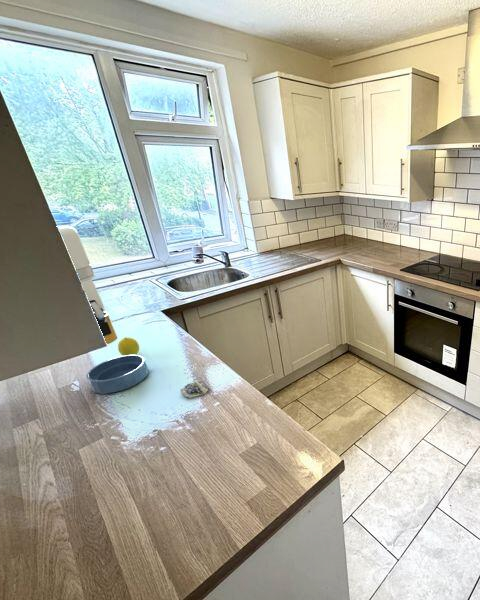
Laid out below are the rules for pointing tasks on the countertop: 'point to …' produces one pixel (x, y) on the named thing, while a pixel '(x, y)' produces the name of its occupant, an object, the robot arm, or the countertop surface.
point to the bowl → (117, 374)
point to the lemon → (128, 346)
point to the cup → (113, 335)
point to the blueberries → (194, 389)
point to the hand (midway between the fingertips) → (98, 331)
